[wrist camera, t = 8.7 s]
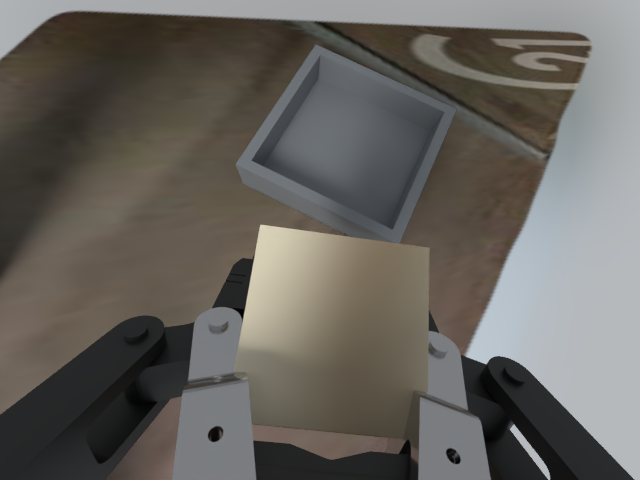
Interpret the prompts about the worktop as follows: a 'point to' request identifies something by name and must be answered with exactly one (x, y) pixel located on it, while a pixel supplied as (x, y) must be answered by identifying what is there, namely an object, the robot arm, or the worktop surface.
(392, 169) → the box
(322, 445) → the worktop surface
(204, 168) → the worktop surface
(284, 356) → the maple block
